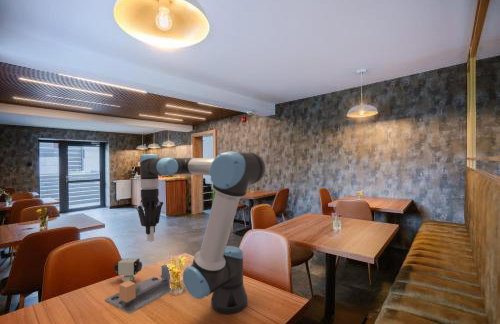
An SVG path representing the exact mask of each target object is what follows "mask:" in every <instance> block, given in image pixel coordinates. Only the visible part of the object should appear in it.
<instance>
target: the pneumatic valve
mask: <svg viewBox="0 0 500 324" xmlns="http://www.w3.org/2000/svg"><path fill="white" fill-rule="evenodd" d="M142 268H143V262H142V261H141V260H140V258H134V257H127V258H121V259H119V260H118V261H116V263H115V264H114V267H113V269H114V272H116V275H117V276H123V277H122V279H121V280H122V283H124V282H126V281H128V280H129V281H131V282H133V283H134V281H135V280H136V277H135V276H136V275H137V274H138V273H139V272H141V271H142Z"/></svg>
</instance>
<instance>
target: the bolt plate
mask: <svg viewBox="0 0 500 324" xmlns="http://www.w3.org/2000/svg"><path fill="white" fill-rule="evenodd" d="M160 281H162V278H159V277H156V276H151V277H150V278H148V279H145V280H143V281H141V282H139V283H135V287H136V293H138V292H140V291H142V290H144V289H146V288H148V287H150V286H152V285H154V284H156V283H158V282H160ZM170 283H171V282H170V281H169V284H168V285H166V286H164V287H162V288H160V289H158V290H156V291H154V292H152V293H150V294H149V295H147V296H145V297H143V298H141V299H139V300H137V301H135V302H133V303H131V304H129V305H128V306H126V307H124V306H122V300H120V299H119V292H117V293H115V294H113V295H111V296H109V297H107V298H105V299H104V300H105V302H106V303H108V304H111V305H112V306H114V307H116V308H117V309H120V310H121V311H123V312H125V313H127V314H128V315H132V314H133V313H134V312H136V311H138V310H139V309H141V308H143V307H145V306H147V305H149V304H150V303H152V302H154V301H157V300H158V299H159V298H161V297H163V296H165V295H166V294H169V293H170V292H172V291H171V288H170Z"/></svg>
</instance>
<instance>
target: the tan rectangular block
mask: <svg viewBox="0 0 500 324" xmlns="http://www.w3.org/2000/svg"><path fill="white" fill-rule="evenodd" d="M135 285H136V283H135V282H134V281H133V282H131V281H129V280H128V281H126V282H124V283H123V282H122V283H119V285H118V290H119V292H118V293H119V299H120V300H122V301H124V302H126V303H127V302H128V301H130V300H132V299H134V298H136V287H135Z"/></svg>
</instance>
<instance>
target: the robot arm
mask: <svg viewBox="0 0 500 324" xmlns="http://www.w3.org/2000/svg"><path fill="white" fill-rule="evenodd" d="M139 158H140V159H139V170H140V171H139V173H140V188H141V189H140V198H141V199H140V202H139V204H138V205H135V209H136V210H137V214H138V217H139V222H140V225H141V227H144V228H145V235H146V238H147V239H146V240H147V241H148V242H154V241H155V236H154V235H155V233H156V227H157V224H159V223H160V218H161V212H162V207H163V205H164V202H163V201H160V199H159V195H160V193H159V186H160V185H159V184H160V183H159V176H164V177H167V176H175V175H198V176H199V175H200V176H210V181H211V182H212V188H213V190H214V191H215V192H214V193H215V194H214V197H213V202H212V204H211V208H210V209H211V210H210V213H209V216H208V220H207V225H206V228H205V231H204V236H203V239H202V242H201V243H202V244H201V246H200V250H198V251H197V252H196V253H195V254H194V255H193V256H194V257H193V260H192V264H191V265H188V266H187V267H186V268H185V269H184V270H183V273H182V280H183V285H184V287H185V289H186V291H187V293H188V294H189V295H191V297H192V298H194V299H197V300H201V299H203V298H206V297H208V296H209V295H211V294H212V295H211V298H210V299H211V300H210V306H211V309H212V310H213V311H215V313H218V314H222V315H233V314H237V313H240V312H242V311H244V310H245V309H246V308H247V306H248V302H249V301H248V300H249V299H248V294H247V291H246V289H245V286H244V255H243V250H242V249H241V248H240V247H237V246H234V245H233V246H232V245H227V244H228V241H229V238H230V234H231V231H232V227H233V224H234V219H235V216H236V215H237V210H238V206H239V202H240V199H242V198H245V196H246V195H247V192H248V191H247V190H248V188H249V186H251V185H254V184H255V185H256V184H257V183H259V182H260V181H262V179H263V177H264V176H265V174H266V169H267V168H266V162H265V161H264V159H263V158H262V157H261V156H260V155H259V154H257V153H254V152H245V151H242V152H241V151H234V150H233V151H226V152H225V151H224V152H222V153H220V154H217V156H215V157H210V158H209V157H160V158H159V156H158V154H157V153H144V154H143V153H142V154H141V155H140V157H139Z"/></svg>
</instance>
